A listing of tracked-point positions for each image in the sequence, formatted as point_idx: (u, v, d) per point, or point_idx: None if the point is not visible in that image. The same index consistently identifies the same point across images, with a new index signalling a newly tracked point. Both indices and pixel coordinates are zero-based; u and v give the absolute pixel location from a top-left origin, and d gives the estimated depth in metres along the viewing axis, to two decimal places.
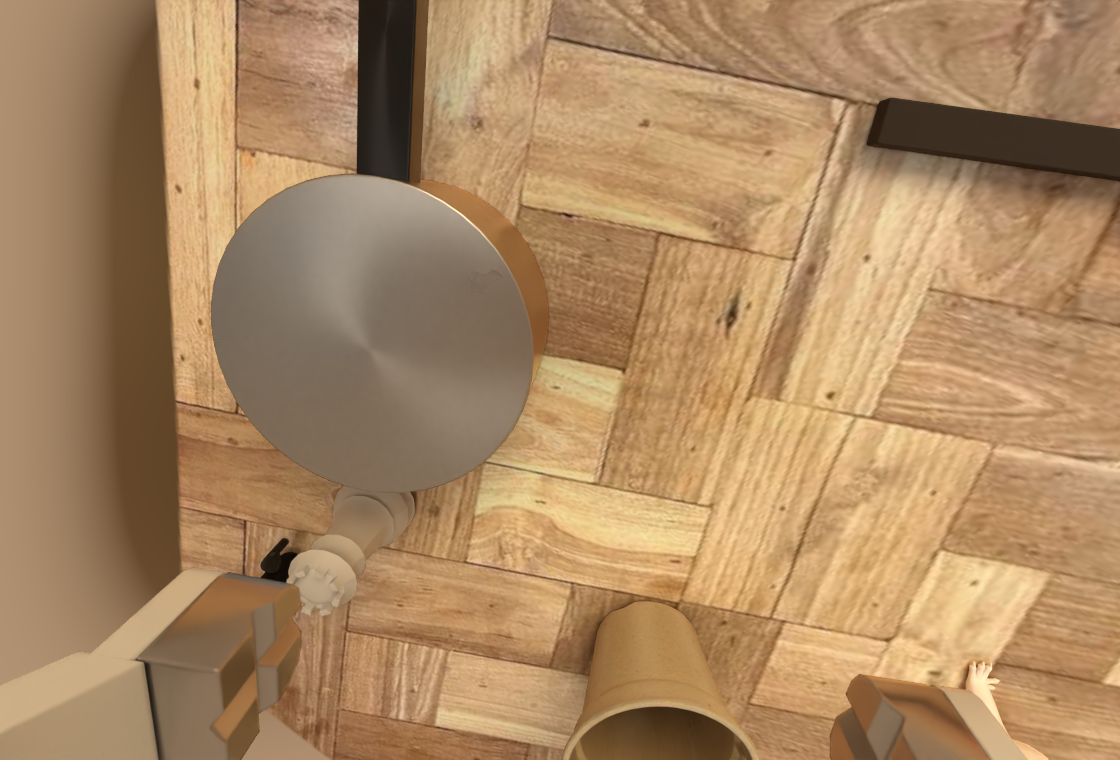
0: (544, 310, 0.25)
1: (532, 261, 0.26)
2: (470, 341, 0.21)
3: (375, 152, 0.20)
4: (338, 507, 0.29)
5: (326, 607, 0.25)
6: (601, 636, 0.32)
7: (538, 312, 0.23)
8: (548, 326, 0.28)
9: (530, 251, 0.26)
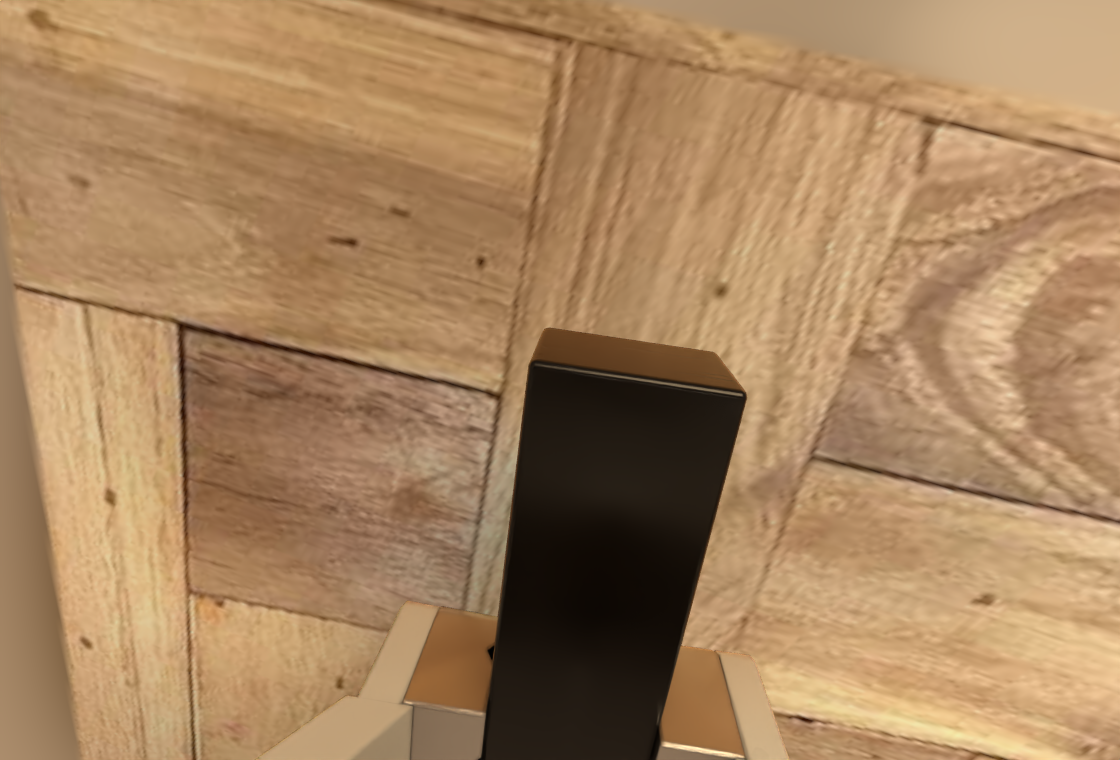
0: None
1: None
2: None
3: None
4: None
5: None
6: None
7: None
8: None
9: None
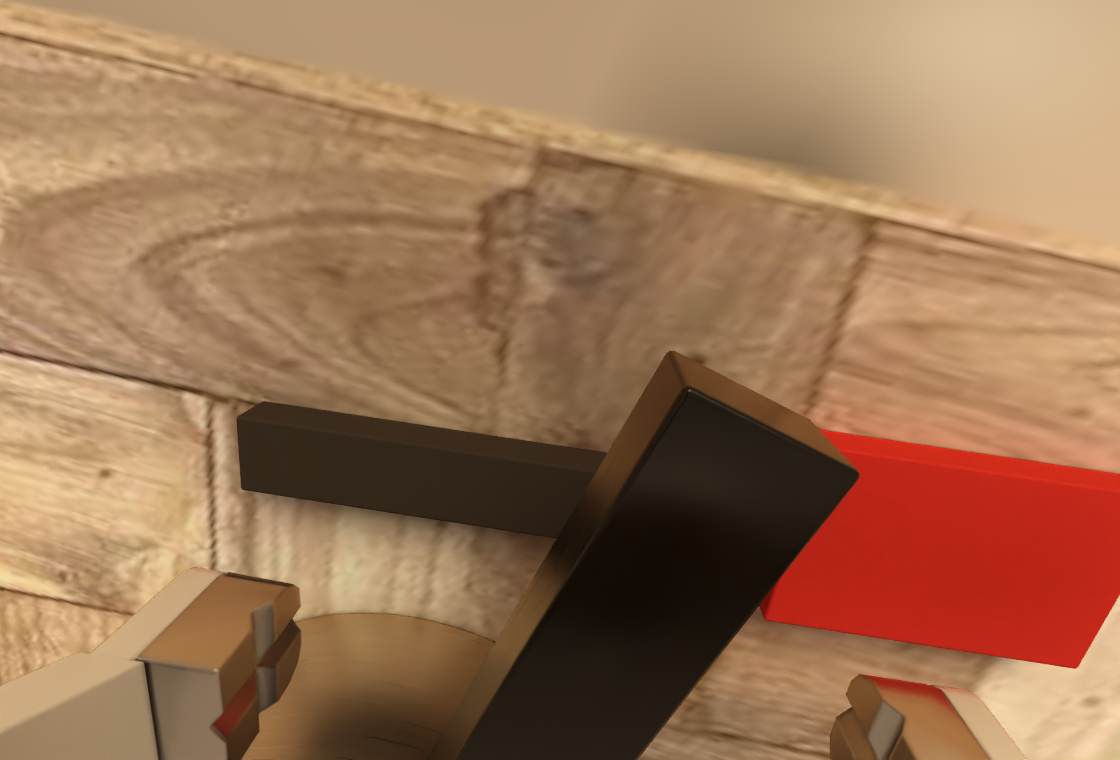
0: None
1: None
2: None
3: None
4: None
5: None
6: None
7: None
8: None
9: None
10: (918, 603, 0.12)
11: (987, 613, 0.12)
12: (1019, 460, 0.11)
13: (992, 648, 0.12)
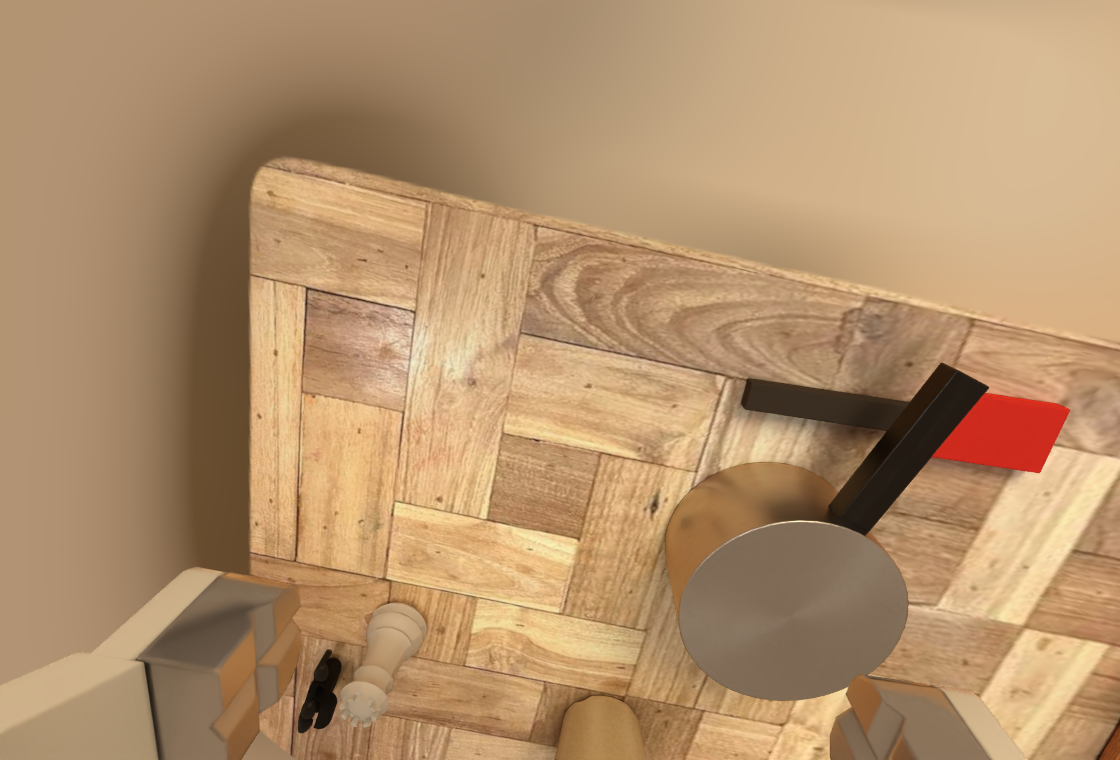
0: None
1: None
2: (858, 633, 0.32)
3: (858, 512, 0.30)
4: (371, 635, 0.40)
5: (367, 722, 0.35)
6: (565, 723, 0.43)
7: None
8: None
9: None
10: (984, 448, 0.34)
11: (1008, 452, 0.34)
12: (1019, 398, 0.33)
13: (1010, 465, 0.34)
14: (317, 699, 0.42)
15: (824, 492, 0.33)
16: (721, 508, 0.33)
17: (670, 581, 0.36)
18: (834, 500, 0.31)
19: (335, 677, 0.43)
